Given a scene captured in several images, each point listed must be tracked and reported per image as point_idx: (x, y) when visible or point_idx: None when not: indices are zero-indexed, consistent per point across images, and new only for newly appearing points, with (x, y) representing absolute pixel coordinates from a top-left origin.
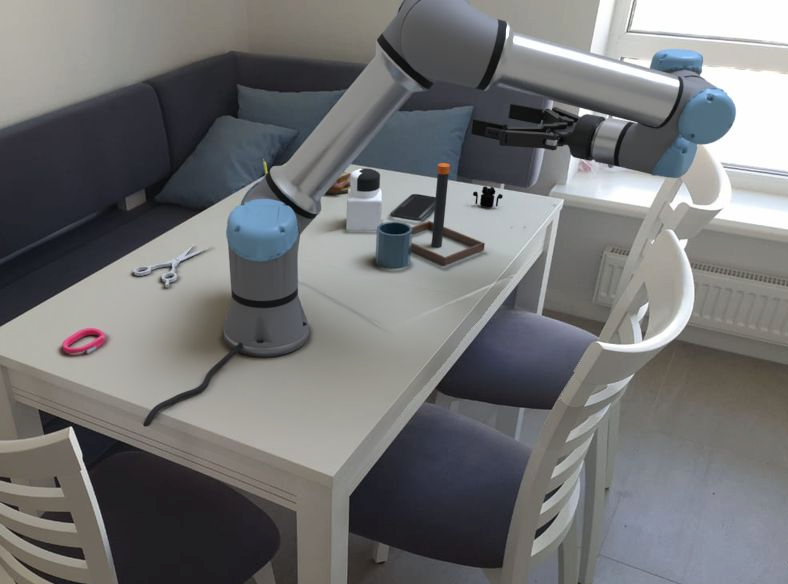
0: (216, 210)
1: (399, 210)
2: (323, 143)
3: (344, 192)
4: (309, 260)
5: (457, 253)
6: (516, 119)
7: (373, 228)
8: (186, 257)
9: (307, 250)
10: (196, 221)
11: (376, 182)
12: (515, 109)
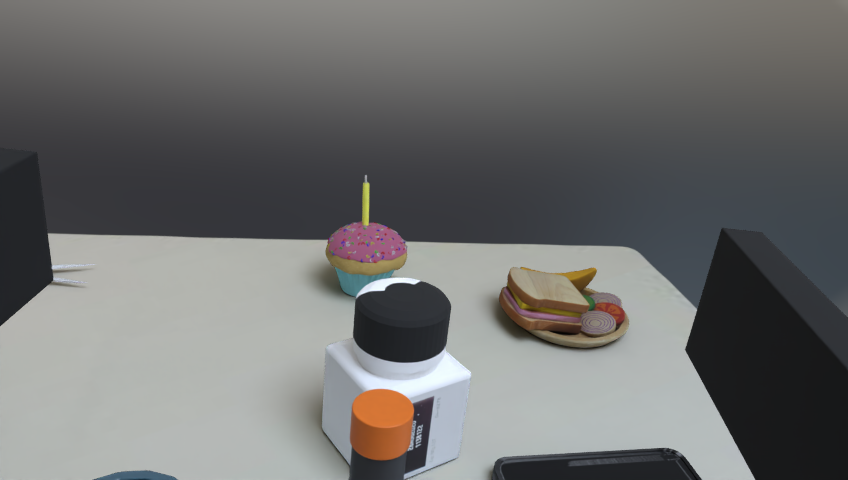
0: (291, 242)
1: (539, 468)
2: None
3: (549, 341)
4: (84, 434)
5: None
6: (716, 400)
7: None
8: None
9: (154, 408)
10: (222, 239)
11: (396, 339)
12: (731, 297)
